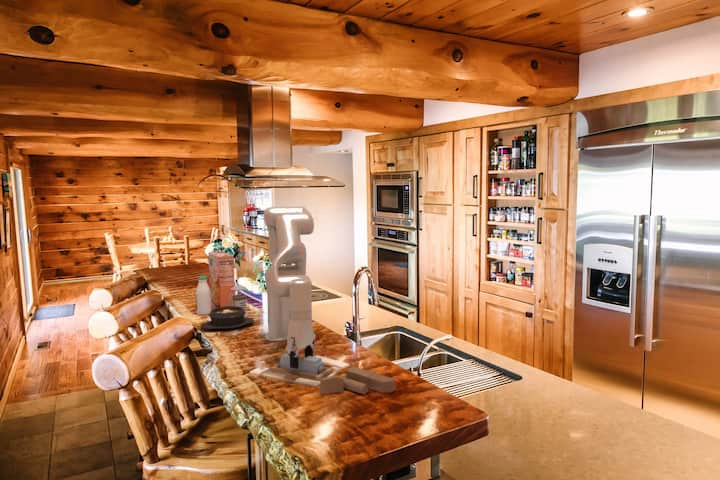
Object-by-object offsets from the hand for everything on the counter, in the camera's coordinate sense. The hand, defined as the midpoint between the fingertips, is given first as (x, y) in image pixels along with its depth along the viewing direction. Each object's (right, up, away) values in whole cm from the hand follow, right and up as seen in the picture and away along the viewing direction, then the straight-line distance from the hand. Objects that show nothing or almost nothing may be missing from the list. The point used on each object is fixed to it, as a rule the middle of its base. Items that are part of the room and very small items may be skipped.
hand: (301, 363), depth 170 cm
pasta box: (-56, +5, +101) cm, 116 cm away
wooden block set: (+19, -6, -15) cm, 25 cm away
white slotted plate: (-15, -4, +2) cm, 16 cm away
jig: (0, -4, 0) cm, 4 cm away
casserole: (-43, +2, +62) cm, 75 cm away
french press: (-43, +4, +85) cm, 95 cm away
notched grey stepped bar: (0, -3, +1) cm, 3 cm away
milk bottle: (-62, +4, +88) cm, 107 cm away
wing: (+9, -3, +12) cm, 15 cm away
